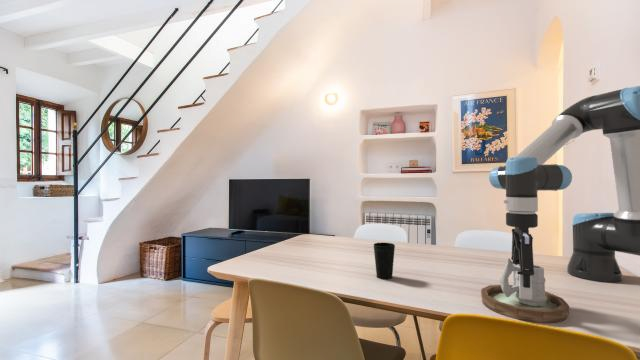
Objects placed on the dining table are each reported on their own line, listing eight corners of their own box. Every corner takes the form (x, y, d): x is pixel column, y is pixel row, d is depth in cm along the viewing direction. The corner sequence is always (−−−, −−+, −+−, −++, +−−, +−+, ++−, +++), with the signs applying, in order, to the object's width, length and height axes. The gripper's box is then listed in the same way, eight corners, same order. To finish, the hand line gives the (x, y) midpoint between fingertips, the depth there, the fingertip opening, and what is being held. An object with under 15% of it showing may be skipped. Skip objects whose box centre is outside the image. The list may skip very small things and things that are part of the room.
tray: (554, 299, 94) (554, 289, 94) (579, 328, 75) (579, 316, 75) (479, 290, 101) (479, 281, 101) (485, 315, 83) (485, 304, 83)
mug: (554, 307, 84) (553, 261, 85) (509, 305, 84) (508, 260, 85) (535, 298, 91) (534, 256, 92) (493, 296, 92) (493, 255, 93)
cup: (397, 275, 118) (396, 243, 118) (392, 281, 111) (392, 247, 111) (376, 273, 121) (376, 241, 121) (371, 278, 114) (371, 245, 114)
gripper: (500, 208, 100) (500, 279, 100) (512, 216, 80) (513, 305, 80) (528, 209, 97) (528, 282, 97) (548, 217, 77) (549, 309, 77)
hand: (522, 292), depth 88 cm, fingers open, 9 cm apart
